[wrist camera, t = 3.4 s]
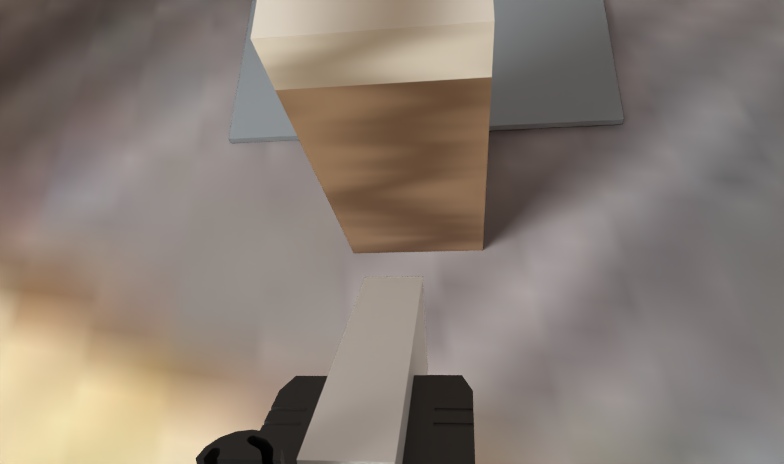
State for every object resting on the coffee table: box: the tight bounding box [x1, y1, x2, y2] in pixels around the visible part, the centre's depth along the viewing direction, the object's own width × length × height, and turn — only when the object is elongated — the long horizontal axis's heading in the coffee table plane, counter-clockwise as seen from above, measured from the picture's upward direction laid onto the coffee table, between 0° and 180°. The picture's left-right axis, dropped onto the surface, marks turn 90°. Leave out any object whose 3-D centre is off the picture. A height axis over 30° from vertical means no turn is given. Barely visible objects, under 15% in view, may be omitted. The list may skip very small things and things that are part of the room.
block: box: [250, 0, 495, 253], centre depth 21 cm, size 6×6×14 cm
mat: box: [228, 0, 624, 143], centre depth 32 cm, size 20×14×1 cm
